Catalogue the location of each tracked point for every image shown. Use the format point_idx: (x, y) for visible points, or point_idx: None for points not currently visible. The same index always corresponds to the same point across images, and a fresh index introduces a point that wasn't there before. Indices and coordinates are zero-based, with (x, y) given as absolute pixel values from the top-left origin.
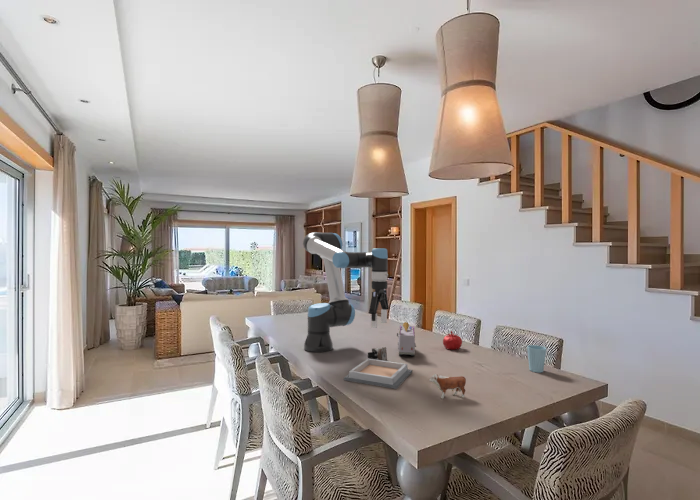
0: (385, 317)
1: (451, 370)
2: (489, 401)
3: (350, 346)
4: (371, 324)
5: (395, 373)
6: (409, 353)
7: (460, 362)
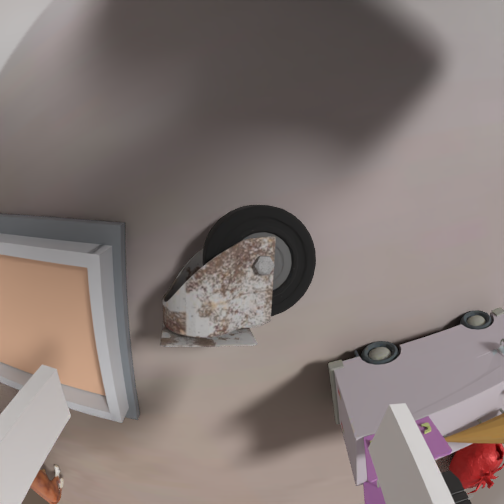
0: (387, 491)
1: (223, 489)
2: (73, 497)
3: (458, 50)
4: (26, 388)
5: (15, 384)
6: (333, 405)
7: (318, 497)
